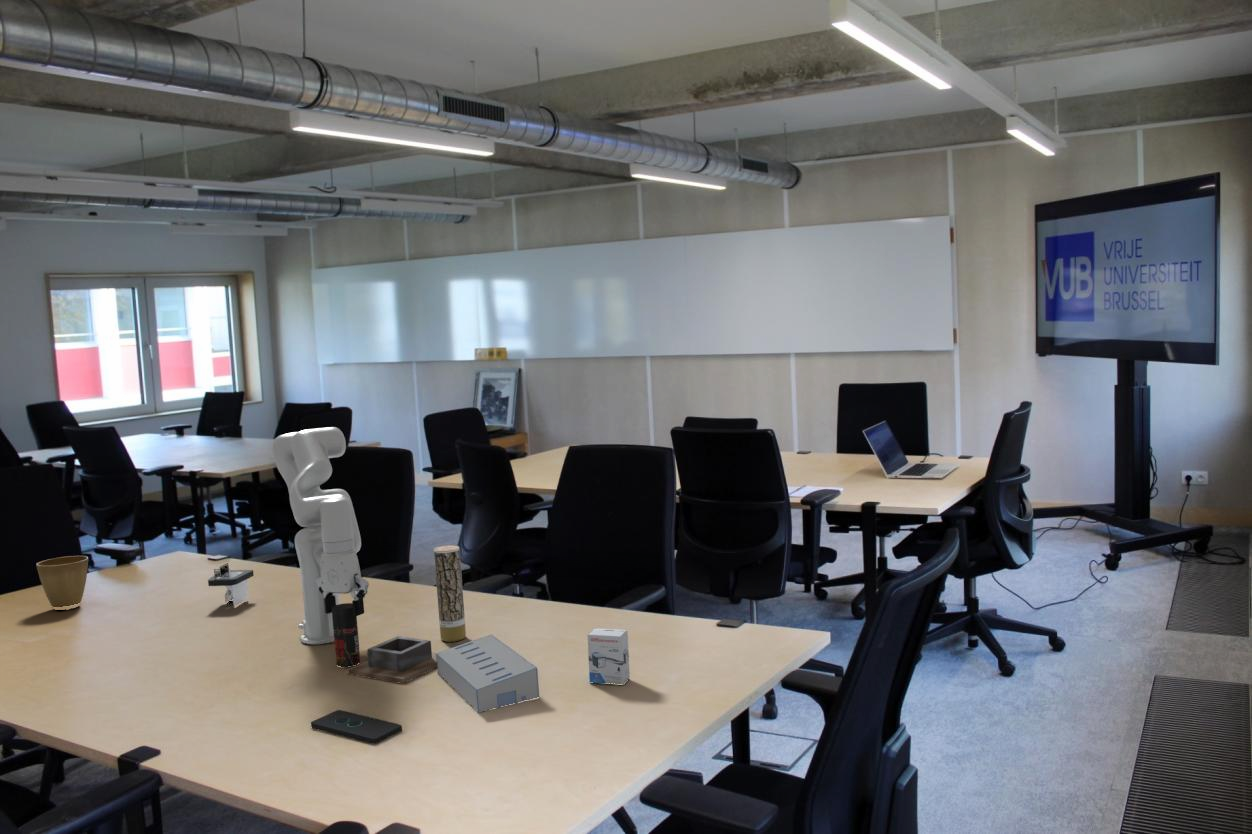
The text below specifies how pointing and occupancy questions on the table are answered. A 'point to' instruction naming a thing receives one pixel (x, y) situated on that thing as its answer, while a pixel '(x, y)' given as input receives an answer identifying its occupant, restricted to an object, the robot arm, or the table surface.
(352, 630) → the deodorant
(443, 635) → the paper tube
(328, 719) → the smart home device
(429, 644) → the holder
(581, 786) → the table surface
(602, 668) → the ink box
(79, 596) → the plant pot
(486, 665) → the warehouse
